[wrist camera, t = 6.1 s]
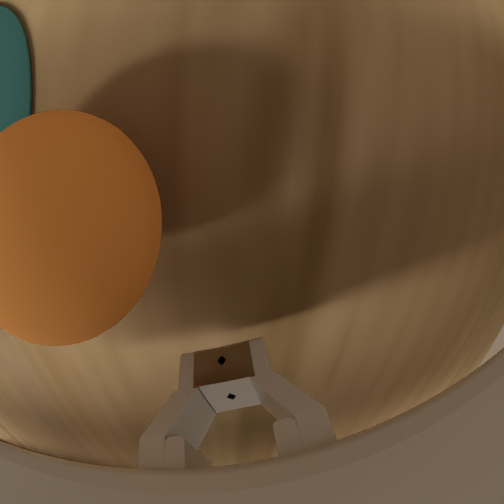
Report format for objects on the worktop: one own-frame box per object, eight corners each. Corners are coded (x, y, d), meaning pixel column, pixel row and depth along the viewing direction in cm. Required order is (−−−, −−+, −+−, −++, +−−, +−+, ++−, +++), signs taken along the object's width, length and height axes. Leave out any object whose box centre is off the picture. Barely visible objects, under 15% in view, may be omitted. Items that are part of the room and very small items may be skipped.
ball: (-94, 224, 2) (16, 184, 7) (21, 412, 4) (88, 305, 9) (25, 22, 2) (128, 87, 7) (201, 351, 4) (210, 235, 9)
